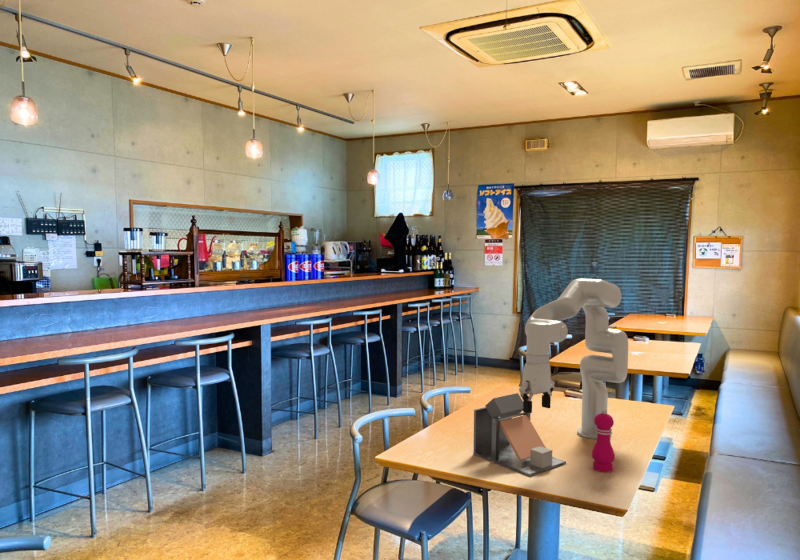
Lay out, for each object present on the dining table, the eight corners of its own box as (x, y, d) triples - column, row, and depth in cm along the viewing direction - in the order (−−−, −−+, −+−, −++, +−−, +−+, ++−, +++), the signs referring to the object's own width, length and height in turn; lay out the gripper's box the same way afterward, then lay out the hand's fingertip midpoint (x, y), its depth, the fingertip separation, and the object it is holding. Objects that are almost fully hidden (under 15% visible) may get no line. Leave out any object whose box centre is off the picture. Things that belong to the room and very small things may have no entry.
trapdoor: (510, 400, 205) (518, 392, 202) (542, 454, 195) (551, 448, 191) (484, 405, 197) (492, 398, 194) (515, 463, 186) (524, 456, 183)
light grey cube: (540, 446, 190) (552, 450, 186) (539, 460, 190) (551, 465, 186) (530, 449, 187) (542, 453, 183) (530, 463, 187) (542, 468, 183)
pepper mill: (587, 464, 189) (589, 406, 188) (608, 464, 189) (609, 405, 189) (597, 473, 182) (598, 412, 181) (618, 472, 182) (619, 411, 181)
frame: (509, 443, 209) (509, 401, 209) (566, 463, 190) (567, 416, 189) (473, 454, 198) (474, 409, 197) (530, 476, 178) (530, 427, 177)
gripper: (544, 354, 195) (543, 403, 196) (511, 360, 184) (511, 411, 185) (563, 358, 189) (562, 408, 190) (530, 363, 178) (529, 416, 179)
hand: (536, 409), depth 187 cm, fingers open, 9 cm apart
